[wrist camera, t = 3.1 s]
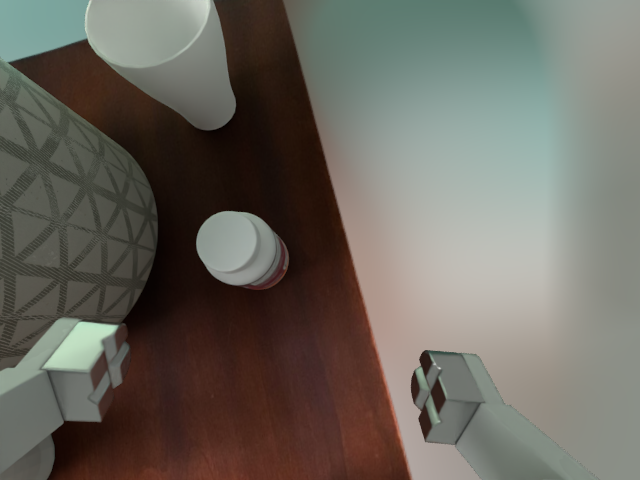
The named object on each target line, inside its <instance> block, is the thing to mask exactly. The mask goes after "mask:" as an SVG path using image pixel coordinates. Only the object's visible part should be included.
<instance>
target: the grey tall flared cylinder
mask: <svg viewBox="0 0 640 480" xmlns="http://www.w3.org/2000/svg"><path fill="white" fill-rule="evenodd" d="M54 459H55V449H54V443H53V440H52V437H51V434H50V435H48V436H47V437H46V438H45V439H43V440H42V441H41V442H40V443H38V444H37V445H36V446H35V447H33V448H32V449H31V450H30V451H28V452H27V453H26V454H25V455H24V456H22V457H21V458H20V459H19V460H17V461H16V462H15V463H14V464H12V465H11V466H10V467H9V468H7V469H6V470H5V471H4V472H2V473H1V474H0V480H47V478H48V477H49V475H50V473H51V471H52V467H53V463H54Z"/></svg>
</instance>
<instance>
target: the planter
mask: <svg viewBox="0 0 640 480" xmlns="http://www.w3.org/2000/svg"><path fill="white" fill-rule="evenodd" d="M157 240H158V215H157V209H156V203H155V199H154V195H153V192H152V189H151V187H150V184H149V182H148V180H147V178H146V176H145V174H144V172H143V171H142V169H141V168H140V166H139V165H138V163H137V162H136V161H135V160H134V158H133V157H132V156H131V155H130V154H129V153H128V152H127V151H126V150H125V149H124V148H122V147H121V146H120V145H118V144H117V143H116V142H114V141H113V140H112V139H110V138H109V137H108V136H106V135H105V134H104V133H102V132H101V131H99V130H98V129H97V128H95V127H94V126H93V125H91V124H90V123H89V122H87V121H86V120H84V119H83V118H82V117H80V116H79V115H78V114H76V113H75V112H74V111H72V110H71V109H69V108H68V107H67V106H65V105H64V104H63V103H61V102H60V101H59V100H57V99H56V98H55V97H53V96H52V95H50V94H49V93H48V92H46V91H45V90H44V89H42V88H41V87H40V86H38V85H37V84H35V83H34V82H33V81H31V80H30V79H29V78H27V77H26V76H25V75H23V74H22V73H20V72H19V71H18V70H16V69H15V68H14V67H12V66H11V65H10V64H8V63H7V62H5V61H4V60H3V59H1V58H0V371H2V370H4V369H6V368H15V367H16V366H17V365H18V363H19V362H20V361H21V360H22V359H23V358H24V357H25V356H26V354H27V353H28V352H29V351H30V350H31V349H32V348H33V347H34V345H35V344H36V343H37V342H38V341H39V340H40V339H41V337H42V336H43V335H44V334H45V333H46V332H47V331H48V330H49V328H50V327H51V326H52V325H53V324H54V323H55V322H56V321H57V320H58V319H60V318H62V317H68V318H77V319H89V320H98V321H106V322H115V323H121V322H122V321H123V320H124V318H125V317H126V316H127V315H128V313H129V312H130V311H131V309H132V308H133V306H134V305H135V303H136V302H137V300H138V298H139V296H140V294H141V293H142V291H143V289H144V286H145V284H146V282H147V280H148V277H149V274H150V271H151V269H152V266H153V262H154V258H155V253H156V247H157Z"/></svg>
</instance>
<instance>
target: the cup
mask: <svg viewBox="0 0 640 480" xmlns="http://www.w3.org/2000/svg"><path fill="white" fill-rule="evenodd" d="M85 31H86V34H87V38H88V41H89V44H90V45H91V46H92V48H93V49H94V51H95V52H96V54H97V55H98V56H99V57H101V58H102V59H103V60H104V61H105V62H106V63H107V64H108V65H110V66H111V67H112V68H113V69H114V70H115V71H116V72H117V73H119V74H120V75H121V76H123V77H124V78H125V79H127V80H128V81H129V82H131V83H132V84H134V85H135V86H137V87H138V88H139V89H141V90H142V91H144V92H145V93H147V94H148V95H149V96H151V97H152V98H154V99H156V100H158V101H159V102H161V103H163V104H165V105H167V106H169V107H170V108H172V109H173V110H175V111H176V112H178V113H179V114H181V115H182V116H183V117H184V118H185V119H186V120H188V121H189V122H190V123H191V124H192V125H193V126H195V127H196V128H199V129H201V130H215V129H218V128H220V127H222V126H224V125H225V124H226V123H228V122H229V120H230V119H231V118H232V116H233V114H234V112H235V108H236V100H235V97H234V94H233V91H232V88H231V86H230V80H229V75H228V69H227V60H226V50H225V44H224V39H223V34H222V30H221V25H220V20H219V17H218V14H217V11H216V8H215V5H214V2H213V0H89V4H88V7H87V10H86V13H85Z"/></svg>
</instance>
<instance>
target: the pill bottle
mask: <svg viewBox="0 0 640 480" xmlns="http://www.w3.org/2000/svg"><path fill="white" fill-rule="evenodd" d="M196 246H197V252H198V255H199V257H200V258H201V260H202V261H203V263H204V264H205V266H206V268H207V269H208V271H209V272H210V273H211V274H212V275H213V276H214V277H215V278H217V279H218V280H220V281H222V282H224V283H227V284H231V285H235V286H240V287H245V288H249V289H255V290H261V289H266V288H269V287H272V286H273V285H275V284H277V283H278V282H279V281H280V280H281V279H282V278H283V276H284V275H285V273H286V271H287V268H288V264H289V255H288V250H287V248H286V246H285V244H284V242H283V241H282V240H281V239H280V238H279V236H278V235H277V234H276V233H275V232H274V231H273V230H272V229H271V228H270V227H269V226H268V225H267V223H265V222H264V221H263V220H262V219H260V218H259V217H257V216H255V215H253V214H250V213H246V212H234V211H224V212H220V213H217V214H215V215H213V216H211V217H210V218H209V219H207V220H206V221H205V222H204V224H203V225H202V226H201V228H200V230H199V232H198V235H197V240H196Z"/></svg>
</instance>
